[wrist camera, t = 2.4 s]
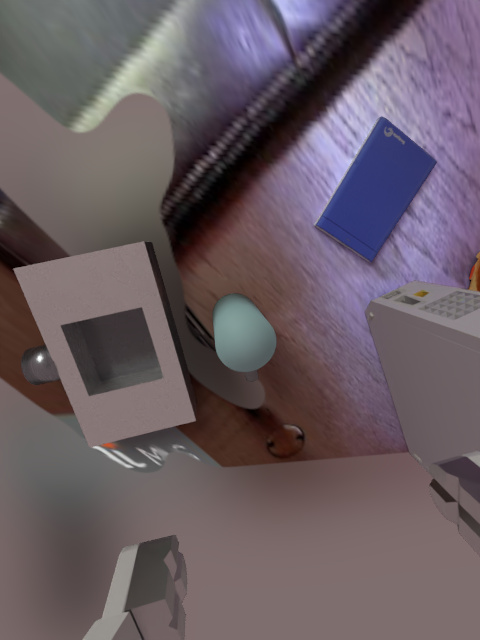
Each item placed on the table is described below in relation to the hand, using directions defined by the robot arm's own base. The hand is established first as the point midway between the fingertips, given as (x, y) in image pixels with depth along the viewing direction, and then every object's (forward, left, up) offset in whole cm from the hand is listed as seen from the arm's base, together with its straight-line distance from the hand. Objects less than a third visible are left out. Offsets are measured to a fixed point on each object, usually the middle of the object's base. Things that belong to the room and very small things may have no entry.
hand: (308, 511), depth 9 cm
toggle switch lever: (0, 0, -26) cm, 26 cm away
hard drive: (-18, -10, -27) cm, 34 cm away
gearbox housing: (+14, 0, -26) cm, 29 cm away
